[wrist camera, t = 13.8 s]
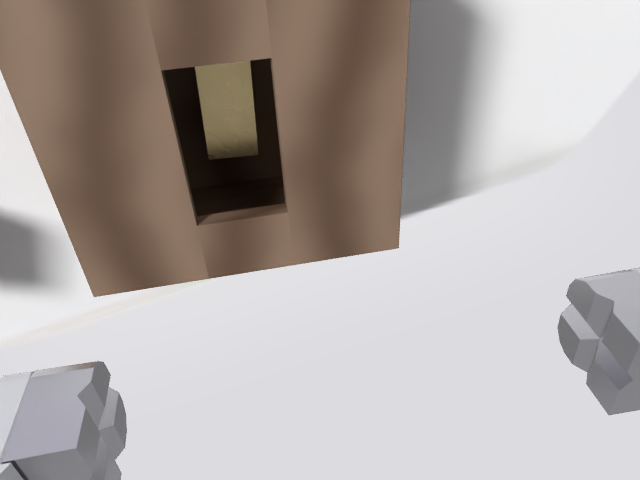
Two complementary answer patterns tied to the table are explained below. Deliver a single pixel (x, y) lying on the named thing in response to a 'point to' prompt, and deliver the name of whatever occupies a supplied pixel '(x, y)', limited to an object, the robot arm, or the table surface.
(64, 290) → the table surface
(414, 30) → the table surface
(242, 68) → the tan rectangular block
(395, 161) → the slot box
